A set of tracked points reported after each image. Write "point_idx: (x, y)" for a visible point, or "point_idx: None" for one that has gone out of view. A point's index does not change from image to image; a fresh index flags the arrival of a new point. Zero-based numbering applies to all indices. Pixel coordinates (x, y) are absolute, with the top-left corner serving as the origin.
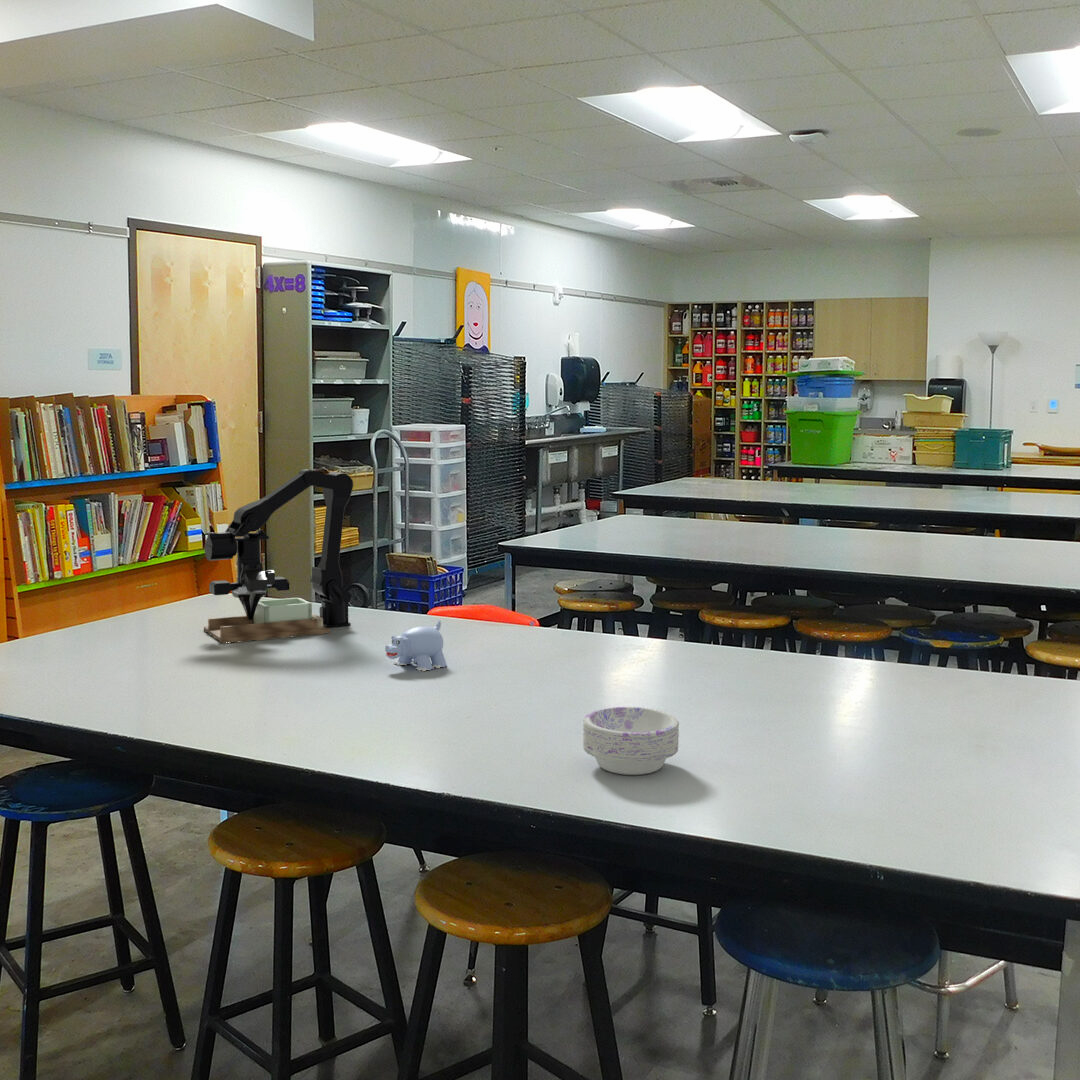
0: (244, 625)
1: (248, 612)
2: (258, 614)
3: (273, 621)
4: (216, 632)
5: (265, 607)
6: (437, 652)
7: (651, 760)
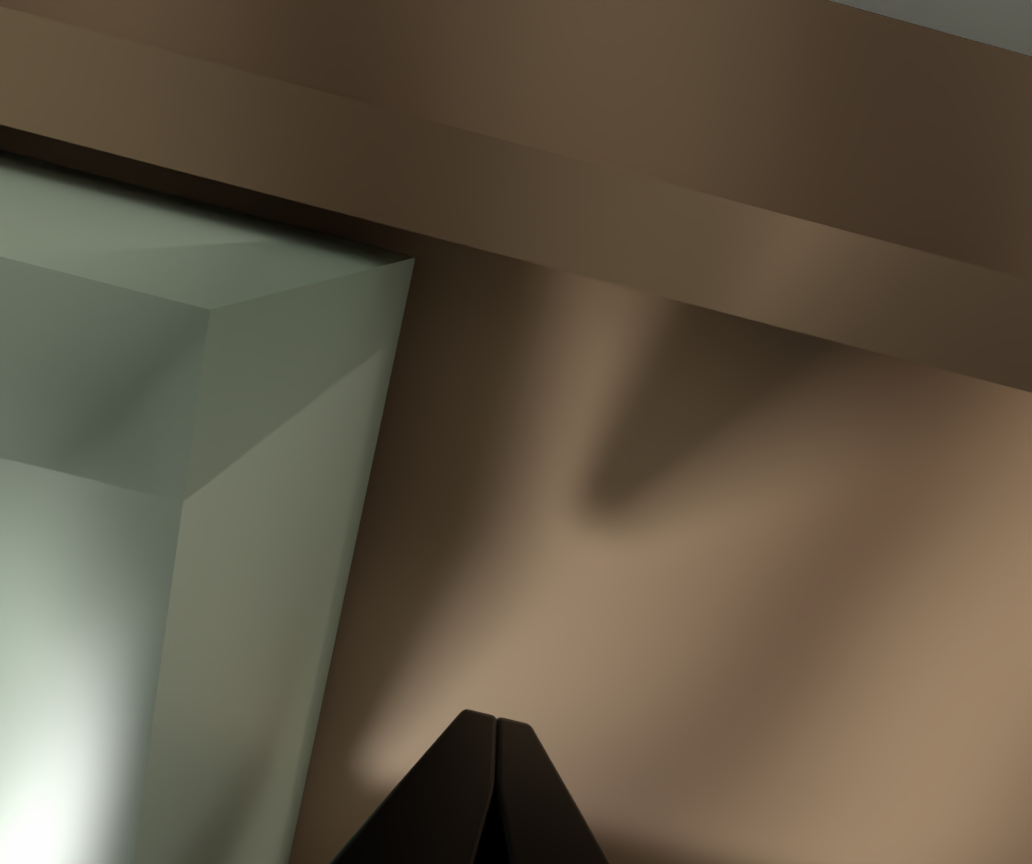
0: (975, 268)
1: (571, 838)
2: (250, 815)
3: (161, 208)
4: (1027, 780)
5: (185, 290)
6: None
7: None
